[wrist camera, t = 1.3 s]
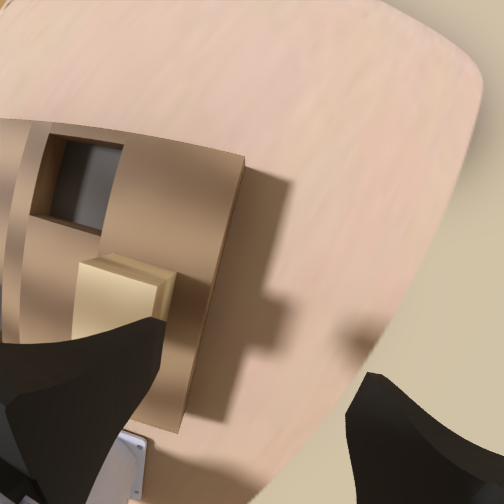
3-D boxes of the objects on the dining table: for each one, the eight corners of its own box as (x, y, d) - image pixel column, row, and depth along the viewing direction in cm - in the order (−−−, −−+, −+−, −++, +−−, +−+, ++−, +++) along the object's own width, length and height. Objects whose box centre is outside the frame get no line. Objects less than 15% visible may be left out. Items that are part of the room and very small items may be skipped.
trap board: (185, 410, 21) (177, 433, 18) (-45, 304, 20) (-64, 310, 17) (245, 166, 19) (244, 156, 16) (-22, 123, 18) (-42, 117, 15)
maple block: (163, 337, 17) (143, 366, 13) (103, 317, 17) (71, 339, 13) (177, 271, 17) (157, 286, 13) (112, 253, 17) (79, 262, 13)
